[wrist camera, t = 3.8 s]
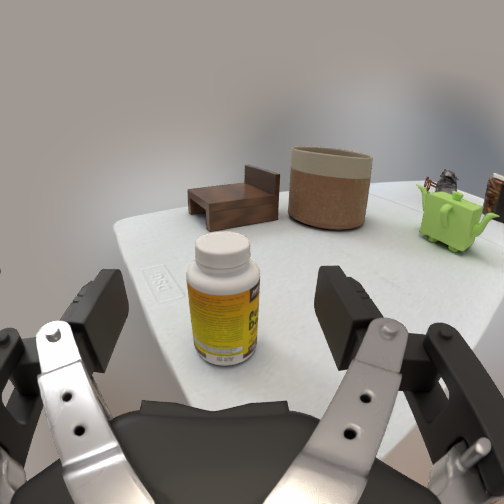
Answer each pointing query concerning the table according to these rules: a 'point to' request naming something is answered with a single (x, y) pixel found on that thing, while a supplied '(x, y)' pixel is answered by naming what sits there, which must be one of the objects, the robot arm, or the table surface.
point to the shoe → (447, 182)
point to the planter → (329, 187)
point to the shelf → (238, 200)
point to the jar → (495, 197)
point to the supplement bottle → (224, 298)
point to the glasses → (428, 183)
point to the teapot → (452, 219)
